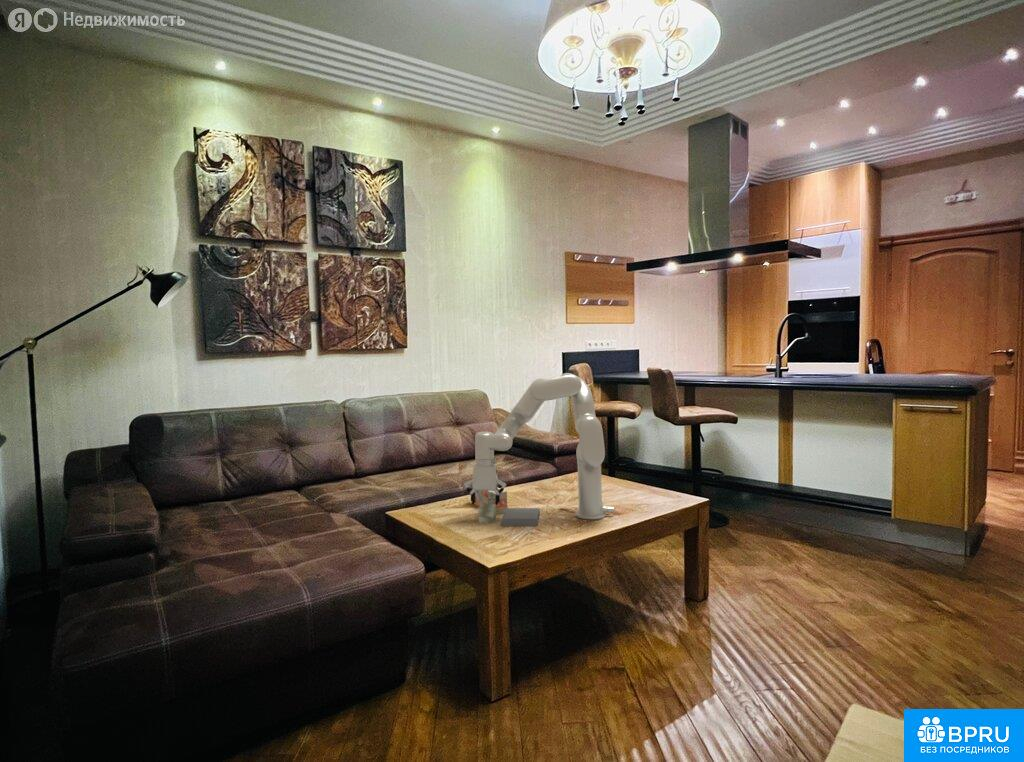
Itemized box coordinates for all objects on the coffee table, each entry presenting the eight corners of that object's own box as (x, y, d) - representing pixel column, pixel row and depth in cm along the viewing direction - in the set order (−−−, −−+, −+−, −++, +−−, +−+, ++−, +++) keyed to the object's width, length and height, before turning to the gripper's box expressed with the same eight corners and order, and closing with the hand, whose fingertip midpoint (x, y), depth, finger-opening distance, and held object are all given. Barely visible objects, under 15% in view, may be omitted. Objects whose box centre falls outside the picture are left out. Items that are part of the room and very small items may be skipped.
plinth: (539, 515, 229) (539, 508, 228) (537, 526, 215) (536, 518, 215) (506, 515, 230) (506, 508, 230) (501, 525, 217) (501, 518, 216)
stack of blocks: (507, 512, 234) (506, 484, 234) (494, 515, 231) (493, 486, 231) (485, 501, 253) (484, 475, 252) (473, 503, 250) (472, 477, 249)
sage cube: (495, 518, 227) (495, 504, 227) (493, 523, 221) (493, 508, 221) (481, 518, 228) (481, 504, 227) (478, 522, 222) (478, 508, 221)
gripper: (507, 460, 226) (507, 501, 227) (465, 460, 228) (466, 500, 229) (504, 464, 218) (505, 506, 219) (461, 463, 220) (462, 505, 221)
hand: (485, 503), depth 224 cm, fingers open, 9 cm apart
